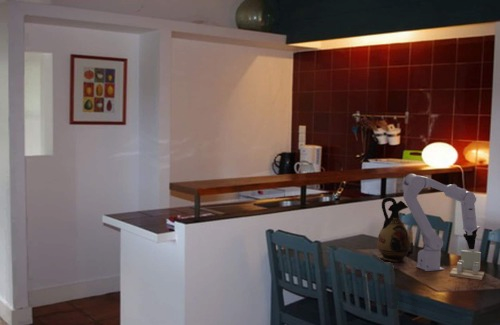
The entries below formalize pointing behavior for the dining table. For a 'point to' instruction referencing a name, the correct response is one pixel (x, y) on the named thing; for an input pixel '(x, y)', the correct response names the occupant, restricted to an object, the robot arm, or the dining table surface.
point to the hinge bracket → (467, 271)
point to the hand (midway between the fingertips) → (472, 246)
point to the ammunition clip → (411, 240)
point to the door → (470, 259)
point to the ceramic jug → (393, 233)
